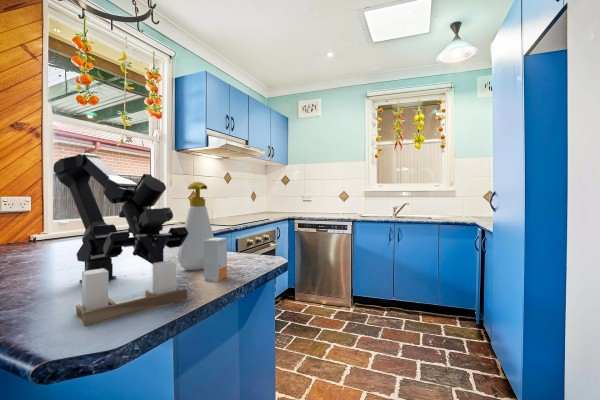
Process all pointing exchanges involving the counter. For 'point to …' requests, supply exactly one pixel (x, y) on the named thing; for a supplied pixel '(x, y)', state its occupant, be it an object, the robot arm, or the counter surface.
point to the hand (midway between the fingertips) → (161, 267)
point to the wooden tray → (129, 306)
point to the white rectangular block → (164, 277)
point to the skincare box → (215, 259)
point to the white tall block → (95, 289)
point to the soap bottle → (195, 231)
